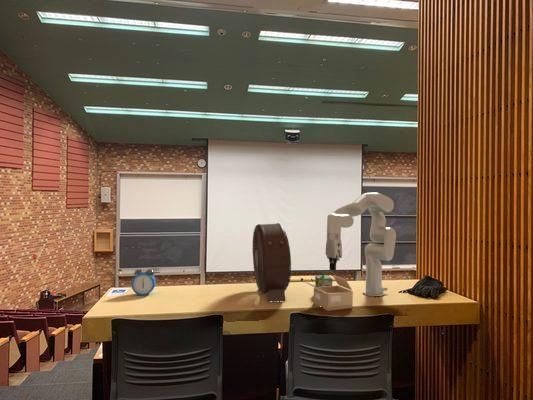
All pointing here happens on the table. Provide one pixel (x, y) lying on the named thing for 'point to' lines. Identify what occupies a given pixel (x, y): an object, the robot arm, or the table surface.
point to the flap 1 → (316, 287)
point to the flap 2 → (342, 282)
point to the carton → (333, 298)
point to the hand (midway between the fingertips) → (332, 270)
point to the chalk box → (323, 281)
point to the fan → (271, 260)
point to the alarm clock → (143, 282)
